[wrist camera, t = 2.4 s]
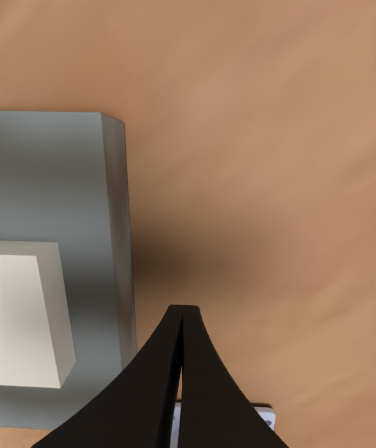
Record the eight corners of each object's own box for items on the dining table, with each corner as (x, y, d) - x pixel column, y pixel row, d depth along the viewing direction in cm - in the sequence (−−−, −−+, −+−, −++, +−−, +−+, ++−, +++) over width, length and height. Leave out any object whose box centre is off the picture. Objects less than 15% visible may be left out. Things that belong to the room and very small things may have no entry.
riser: (138, 387, 17) (126, 434, 14) (-19, 378, 17) (-62, 423, 14) (124, 122, 12) (100, 112, 9) (-100, 119, 12) (-191, 108, 9)
